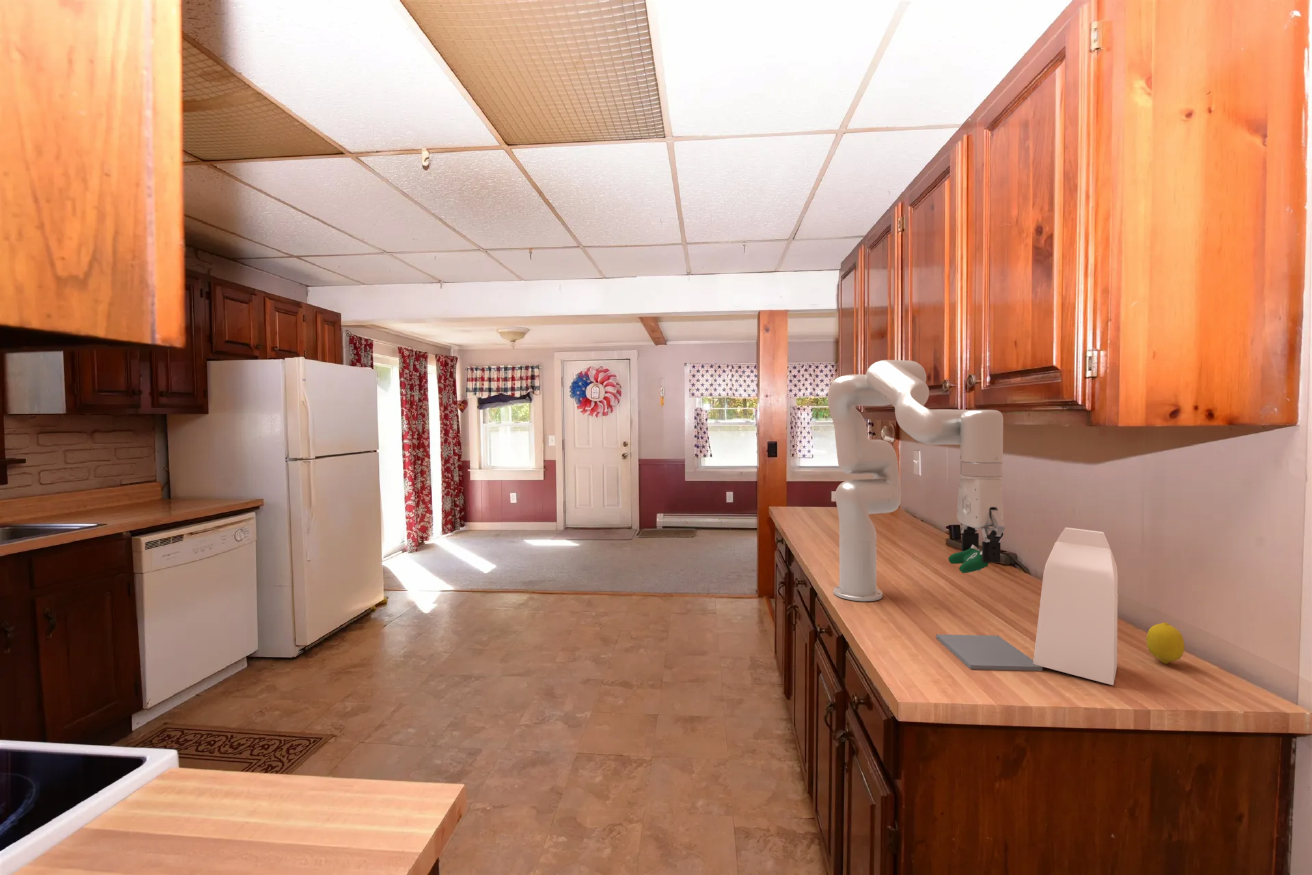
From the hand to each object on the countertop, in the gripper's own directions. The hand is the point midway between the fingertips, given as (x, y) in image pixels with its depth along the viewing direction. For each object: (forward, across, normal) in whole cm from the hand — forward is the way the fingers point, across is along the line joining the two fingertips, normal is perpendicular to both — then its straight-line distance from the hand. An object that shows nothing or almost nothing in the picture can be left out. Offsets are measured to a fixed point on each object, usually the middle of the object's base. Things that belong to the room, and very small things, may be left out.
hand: (980, 556), depth 116 cm
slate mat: (+20, 0, +1) cm, 20 cm away
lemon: (+20, +3, +33) cm, 39 cm away
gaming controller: (+3, 0, -2) cm, 3 cm away
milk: (+19, +6, +15) cm, 25 cm away
